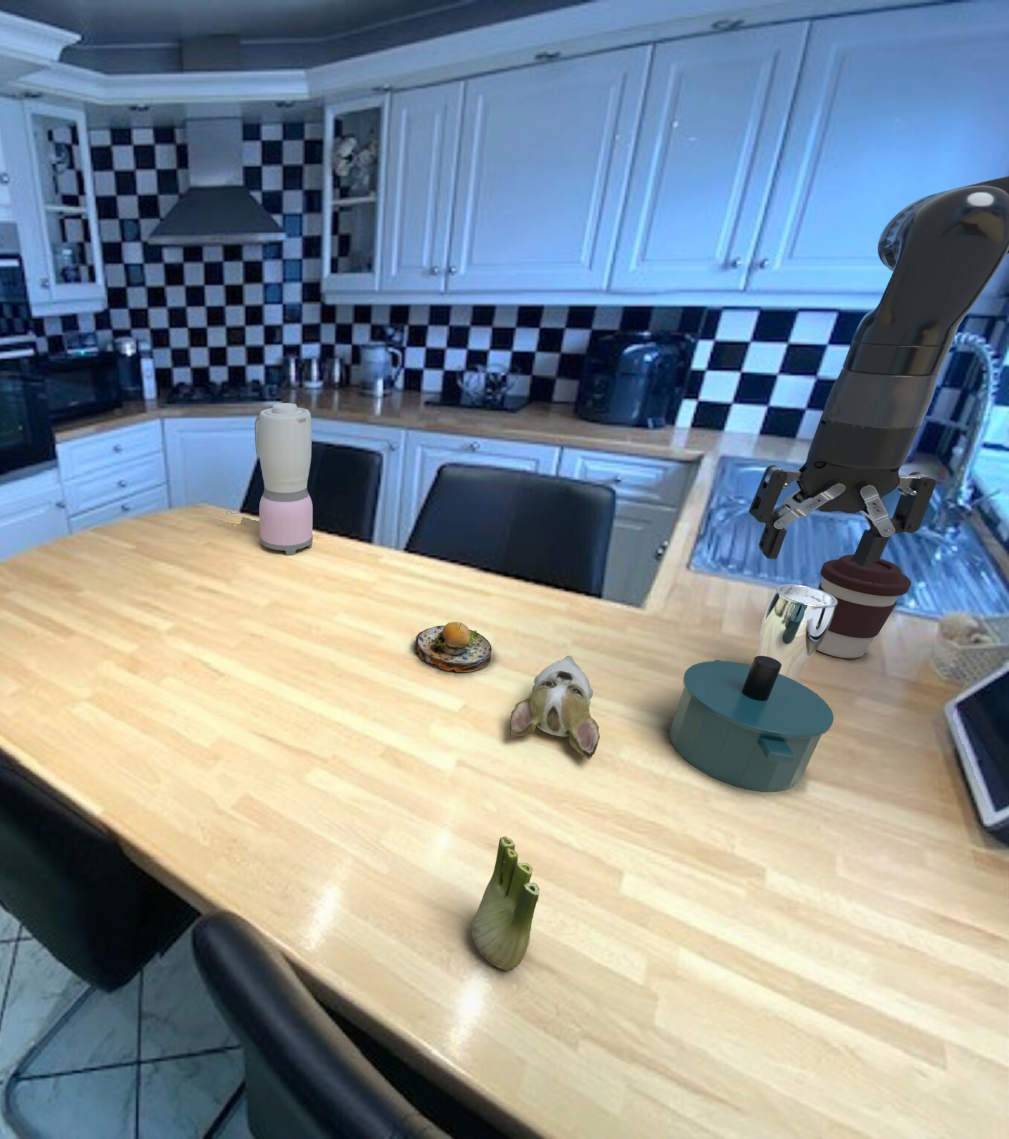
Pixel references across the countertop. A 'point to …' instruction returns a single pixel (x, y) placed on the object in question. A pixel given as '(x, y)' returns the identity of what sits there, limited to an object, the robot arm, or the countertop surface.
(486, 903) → the fennel bulb
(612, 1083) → the countertop surface
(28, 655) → the countertop surface
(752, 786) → the pot
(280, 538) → the blender
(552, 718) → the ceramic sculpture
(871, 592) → the coffee cup
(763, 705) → the lid
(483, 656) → the burger
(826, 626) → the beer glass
